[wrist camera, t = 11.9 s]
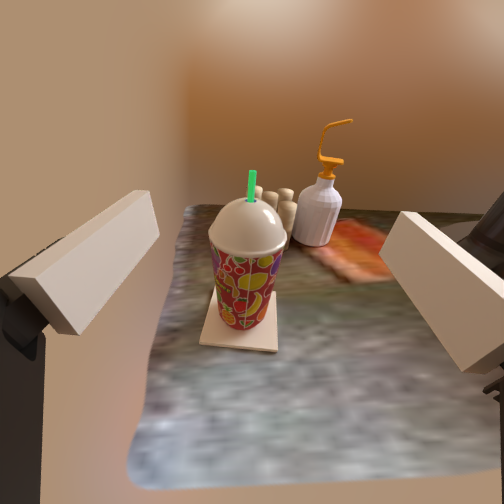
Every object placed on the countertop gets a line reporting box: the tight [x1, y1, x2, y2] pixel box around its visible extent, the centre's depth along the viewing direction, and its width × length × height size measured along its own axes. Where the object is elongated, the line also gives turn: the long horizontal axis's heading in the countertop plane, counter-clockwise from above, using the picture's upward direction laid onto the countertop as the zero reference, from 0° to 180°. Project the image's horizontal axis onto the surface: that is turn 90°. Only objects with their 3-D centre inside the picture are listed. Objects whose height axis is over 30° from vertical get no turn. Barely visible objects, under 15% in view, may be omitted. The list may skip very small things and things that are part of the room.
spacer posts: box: [246, 186, 297, 251], centre depth 47 cm, size 11×11×10 cm
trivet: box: [199, 286, 278, 352], centre depth 31 cm, size 10×10×1 cm
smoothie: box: [208, 170, 287, 330], centre depth 24 cm, size 8×8×20 cm
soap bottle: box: [292, 119, 353, 247], centre depth 44 cm, size 9×9×25 cm
